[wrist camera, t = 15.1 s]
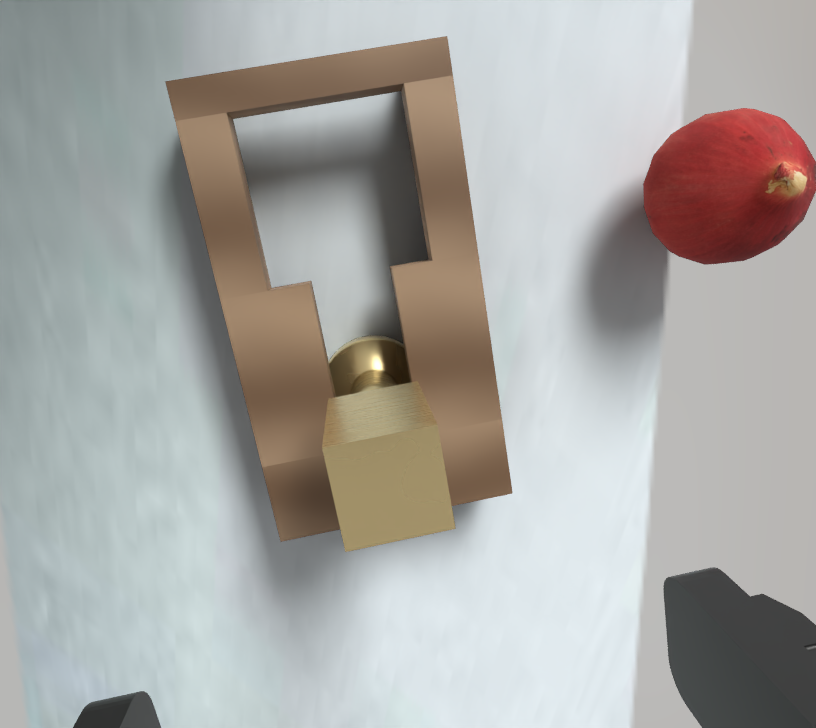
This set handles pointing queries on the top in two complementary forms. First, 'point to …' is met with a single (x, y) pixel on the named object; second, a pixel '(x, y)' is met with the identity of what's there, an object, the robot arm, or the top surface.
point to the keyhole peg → (382, 448)
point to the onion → (729, 186)
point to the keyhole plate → (295, 304)
